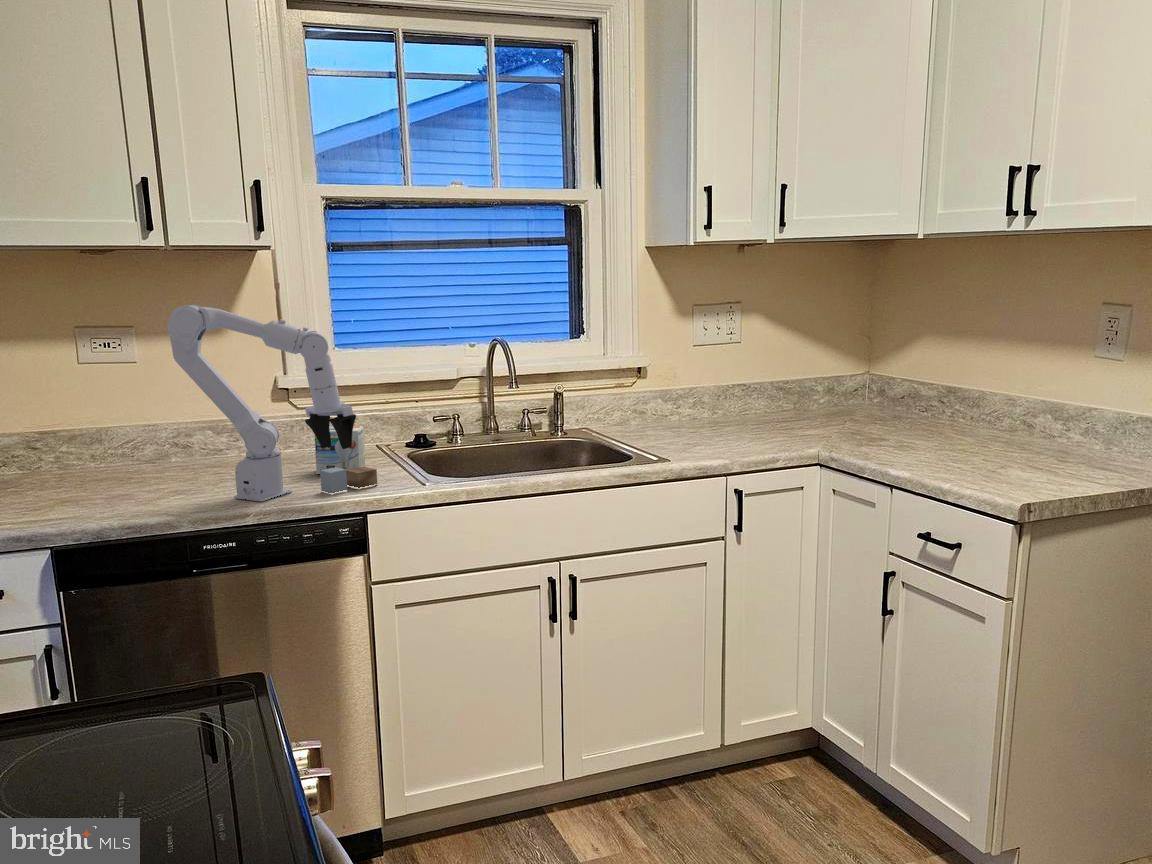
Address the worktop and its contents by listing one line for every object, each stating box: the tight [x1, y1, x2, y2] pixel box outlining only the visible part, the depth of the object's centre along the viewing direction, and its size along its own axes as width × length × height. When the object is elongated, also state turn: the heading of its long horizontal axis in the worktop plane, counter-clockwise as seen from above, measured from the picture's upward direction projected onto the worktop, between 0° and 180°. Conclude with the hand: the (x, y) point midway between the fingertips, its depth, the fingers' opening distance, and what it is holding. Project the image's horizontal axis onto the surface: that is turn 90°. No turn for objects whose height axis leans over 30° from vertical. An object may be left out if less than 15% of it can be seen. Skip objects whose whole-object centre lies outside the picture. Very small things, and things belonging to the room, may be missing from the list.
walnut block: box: [346, 466, 378, 488], centre depth 201 cm, size 5×5×4 cm
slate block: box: [319, 467, 348, 493], centre depth 196 cm, size 4×4×5 cm
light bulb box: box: [314, 425, 366, 475], centre depth 216 cm, size 11×7×11 cm, turn 92°
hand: (336, 447), depth 196 cm, fingers open, 7 cm apart
